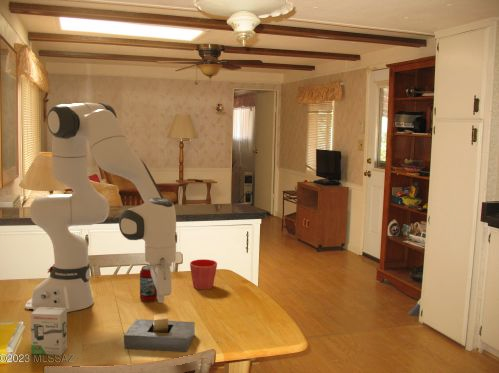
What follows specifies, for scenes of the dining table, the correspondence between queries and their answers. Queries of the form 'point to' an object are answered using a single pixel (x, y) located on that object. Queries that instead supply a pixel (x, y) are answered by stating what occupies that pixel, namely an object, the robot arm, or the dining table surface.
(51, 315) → the ink box
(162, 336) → the jig
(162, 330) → the tilted wooden brick
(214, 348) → the dining table surface
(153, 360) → the dining table surface
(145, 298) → the beverage can
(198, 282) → the flower pot
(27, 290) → the dining table surface
